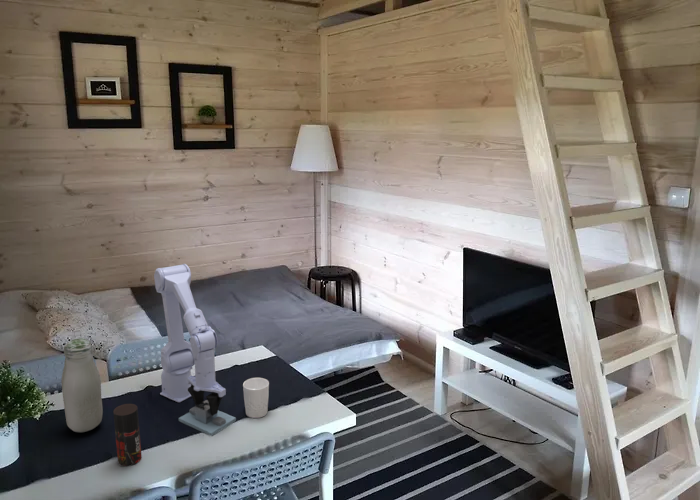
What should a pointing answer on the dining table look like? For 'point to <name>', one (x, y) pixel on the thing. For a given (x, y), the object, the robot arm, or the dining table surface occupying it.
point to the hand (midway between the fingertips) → (207, 410)
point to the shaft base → (211, 427)
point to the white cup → (256, 397)
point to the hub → (203, 413)
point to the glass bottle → (81, 387)
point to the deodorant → (127, 434)
